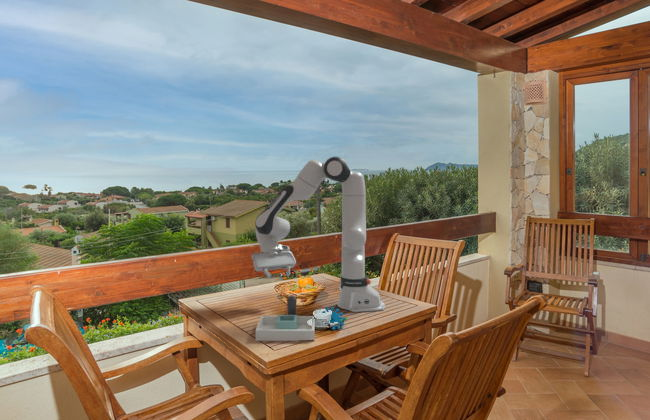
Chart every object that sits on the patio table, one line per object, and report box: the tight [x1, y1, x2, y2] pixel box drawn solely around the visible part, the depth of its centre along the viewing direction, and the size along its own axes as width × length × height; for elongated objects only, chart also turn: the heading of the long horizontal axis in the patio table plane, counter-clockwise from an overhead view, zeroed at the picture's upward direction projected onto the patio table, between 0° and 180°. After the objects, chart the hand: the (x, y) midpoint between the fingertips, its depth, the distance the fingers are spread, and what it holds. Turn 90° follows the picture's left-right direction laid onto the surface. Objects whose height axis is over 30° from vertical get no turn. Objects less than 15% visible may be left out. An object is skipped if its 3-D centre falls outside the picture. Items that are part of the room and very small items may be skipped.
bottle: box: [286, 294, 297, 315], centre depth 179 cm, size 4×4×10 cm
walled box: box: [255, 314, 316, 342], centre depth 162 cm, size 22×16×5 cm
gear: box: [321, 306, 348, 331], centre depth 170 cm, size 11×6×10 cm
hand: (279, 276), depth 188 cm, fingers open, 8 cm apart
